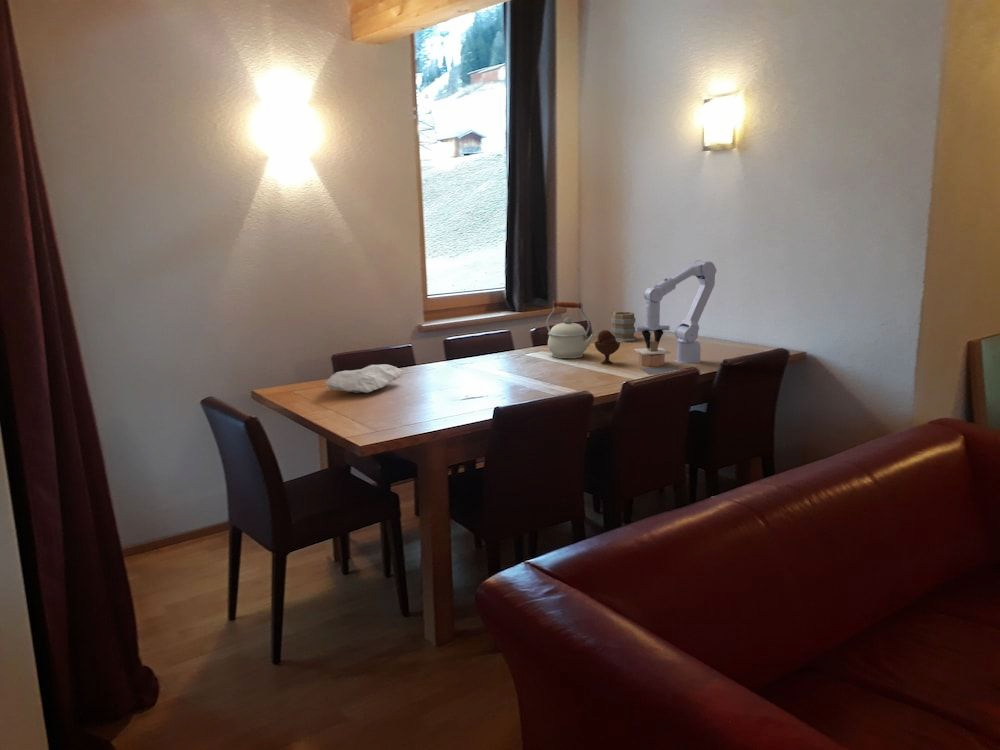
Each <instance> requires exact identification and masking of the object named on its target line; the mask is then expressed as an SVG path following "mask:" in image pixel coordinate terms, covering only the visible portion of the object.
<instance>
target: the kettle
mask: <svg viewBox="0 0 1000 750" xmlns="http://www.w3.org/2000/svg"><path fill="white" fill-rule="evenodd" d="M557 307H559V308H568V309H569V308H570V309H577V308H578V309H580V312H581V315H582V316H583V317H584V318H585V320H586V322H587V329H586V330H585V328H584V326H582V325H581V324H580V323H575V322H572V321H573V320H572V318H570V317H568V316H567V317H565V318H563V322H561V323H556V324H555V325H554V326H552V327H551V328H550V325H549V319H550V318H551V315H552V314H553V313H554V312H555V310H556V309H555V308H557ZM583 307H584V303H583V302H578V303H577V302H572V301H571V302H570V301H556V300H555V301H552V311H551V312H550V313H549V314H548V316H547V317H546V321H545V323H546V325H545V326H546V328H547V330H548V331H547V332H548V333H547V335H548V339H547V348H548V350H549V352H551V356H552V357H553V356H554V357H553V358H556V357H558V358H557V359H562V358H573V359H580V358H582V357H584V353H585V352H586V351H587V348H588V347H590V345H592V342H593V341H594V339H595V337H596V334H595V333H591V334H590V336H588V333H589V331H590V327H591V324H590V323H591V322H590V320H589V318H588V316H586V314H585V312H584V308H583ZM579 357H580V358H579Z"/></svg>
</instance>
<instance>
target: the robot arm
mask: <svg viewBox="0 0 1000 750" xmlns="http://www.w3.org/2000/svg"><path fill="white" fill-rule="evenodd" d="M716 273H717V268H716V265H715V263H713V261H704V260H703V261H702V260H695V261H693V262H691V263H689V265H688V266H686V267H685V268H684V269H682V270H680V272H678V273H677V274H676V275H674V276H673V277H669V276H668V277H664V278H662V281H659V282H658V283H657V284H656V283H655V284H654V285H653V286H652V287H648V288H647V289H646V290H645V291H644V293H643V297H644V299H645V301H646V303H645V325H642V326H641V325H640V326H634V327H635V333H639V332H641V335H642V336H643V338H644V339H643V340H644V342H645V344H646V345H645V346H646V348H650V340H651V334H652V333H651V332H653V334H654V340H655V341H657V342H658V345H660V340H661V339H662V336H663V335H664V331H670V330H671V329H670V327H671V326H670V325H668V324H667V325H664V324H663V325H660V318H661V317H660V314H661V301H662V300H663V297H665V296H666V295H668V294H669V293H671V292H672V291H674V290H675V289H676V286H677V285H678V284H680V283H681V282H683V281H685V280H687V279H688V278H690V277H693V276H695V278H696V279H698V281H699V284H700V285H699V287H698V290H697V292H696V294H695V295H694V299H693V301H692V304H691V306H690V308H689V311H688V313H687V314H686V317H685V318H684V319H682V320H681V321H680V323H679V325H678V326H676V328H675V329H674V335H675V337H676V338H677V343H676V344H677V345H676V346H677V349H676V359H674V358H673V361H675V362H677V363H679V364H692V363H693V364H694V363H701V347H702V346H701V343H700V342H699V341H697V339H698V336H699V329H700V325H699V322H700V319H701V316H702V314H703V312H704V309H705V307H706V306H707V303H708V300H709V299H710V296H711V294H712V291H713V289H714V287H715V285H716Z"/></svg>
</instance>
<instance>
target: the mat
mask: <svg viewBox="0 0 1000 750" xmlns="http://www.w3.org/2000/svg"><path fill="white" fill-rule="evenodd" d="M639 369H640V371H643V372H645V373H646V374H648V376H649V375H650V376H651V375H661V374H660V373H665V372H669V371H673V370H679V369H681V368H680V367H678V366H662V367H661V366H657V367H645V368H644V367H643V368H642V367H641V368H639Z"/></svg>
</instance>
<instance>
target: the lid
mask: <svg viewBox="0 0 1000 750" xmlns="http://www.w3.org/2000/svg"><path fill="white" fill-rule="evenodd" d="M634 351H636V353H638V354H639V353H641V354H643V355H650V354H665V355H668V354H671V353H672V352H671V351H670V350H667V349H665V348H663V347H659V344H658V342H657V341H655V339H654V340H653V339H652V340H651V339H650V348H647V347H646V348H643V347H642V348H634Z"/></svg>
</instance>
